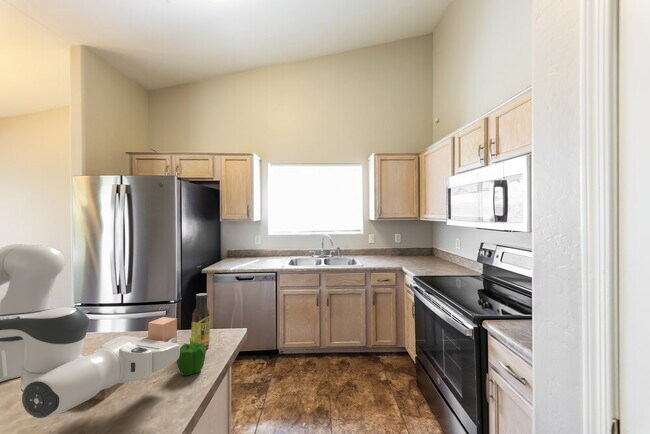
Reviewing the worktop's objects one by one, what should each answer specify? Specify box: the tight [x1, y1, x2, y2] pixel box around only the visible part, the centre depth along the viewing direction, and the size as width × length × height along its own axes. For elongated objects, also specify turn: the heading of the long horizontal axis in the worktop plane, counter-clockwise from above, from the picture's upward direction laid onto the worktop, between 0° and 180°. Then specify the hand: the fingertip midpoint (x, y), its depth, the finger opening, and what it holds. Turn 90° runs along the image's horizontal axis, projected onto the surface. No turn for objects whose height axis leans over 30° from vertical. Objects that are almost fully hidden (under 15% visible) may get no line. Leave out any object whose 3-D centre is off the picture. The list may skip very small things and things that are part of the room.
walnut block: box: [87, 382, 126, 401], centre depth 80 cm, size 10×10×5 cm
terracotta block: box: [147, 316, 178, 344], centre depth 81 cm, size 5×5×12 cm
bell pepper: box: [175, 336, 207, 376], centre depth 90 cm, size 8×8×10 cm
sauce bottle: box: [190, 292, 211, 350], centre depth 106 cm, size 7×6×20 cm
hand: (165, 338), depth 82 cm, fingers closed on terracotta block, 5 cm apart
